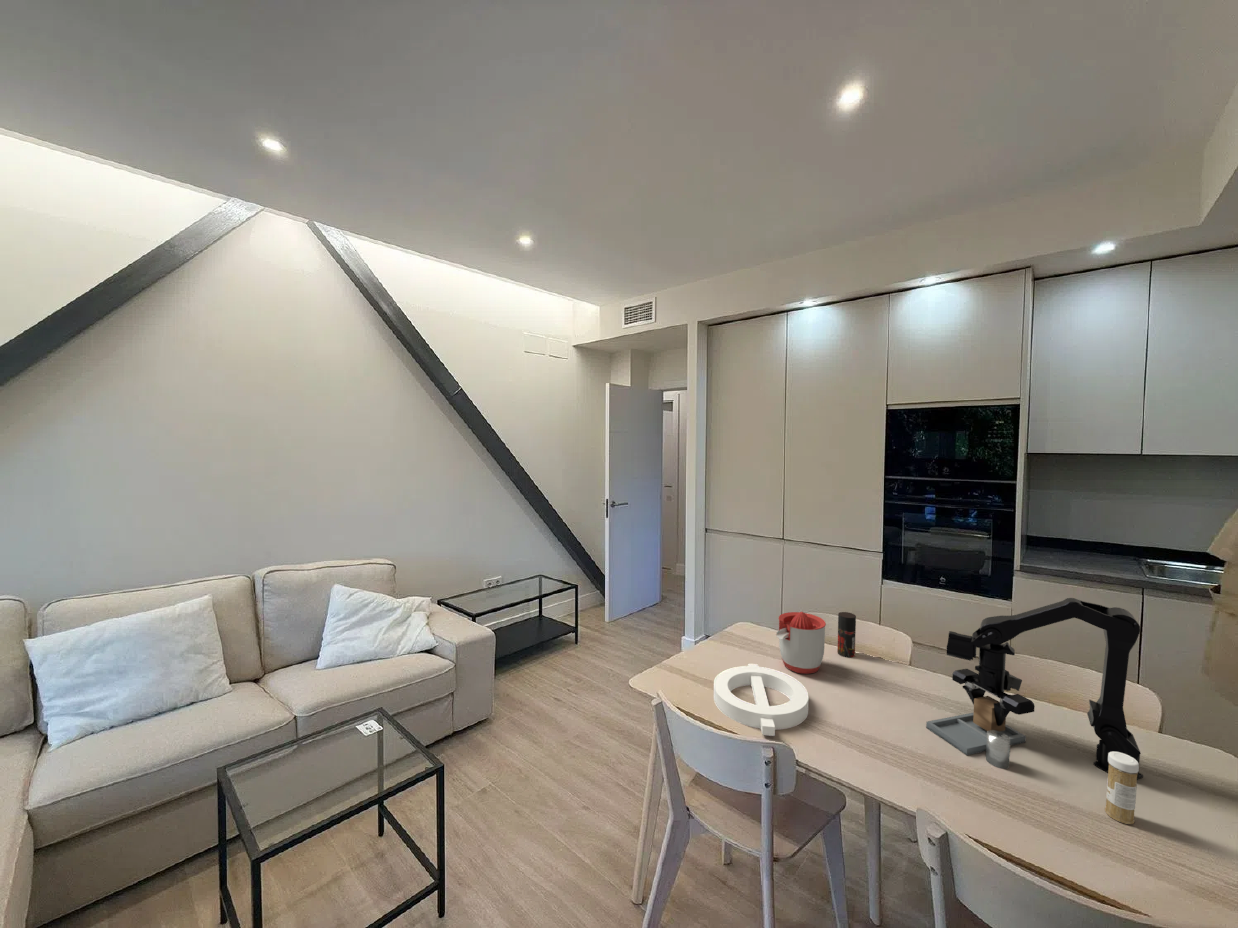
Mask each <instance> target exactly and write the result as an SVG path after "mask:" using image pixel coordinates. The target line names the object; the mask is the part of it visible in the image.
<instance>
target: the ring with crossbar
mask: <svg viewBox="0 0 1238 928" xmlns="http://www.w3.org/2000/svg"><path fill="white" fill-rule="evenodd" d="M744 686H751V690H752V694H753V699H754V703H755V704H754V703H751V702H748V701H745V700H743V699H741V698H739V697H737V696H736V695H734V693H732V691H733V690H735V689H736V688H741V687H744ZM765 688H769V689H772V690H775V691H777V692H779V693H781V694H782V695H784V696H785V697H787V698H788V699H789V701H786V702H785V703H782V704H778V705H777V704H776V705H770V704H769V700H768V697H767V693H766V689H765ZM713 702H714V704H715V706H716V707H717V709H718V710H719V711H720V712H721V713H722V714H723V715H724V716H726V717H727V718H729V719H730V720H732V721H734V722H736V723H740V724H741V725H743V726H747V727H750V728H754V729H759V730H760V731H761V736H768V737H769V736H770V737H775V736H776V730H786V729H790V728H794V727H796V726H798V725H800V724H802V723H803V722H804V721H805V720H806V719H807V717H808V715H809V693H808V690H807V687H805V686H804V684H803V683H802V682H801V681H799V680H798V679H796V678H795V677H794V676H791V675H789V674H787V673H785V672H782V671H781V670H780V671H779V670H777V669H773V668H769V667H765V666H764V667H763V666H759V664H758V663H747V665H741V666H734V667H730V668H727V669H725V670H723V671H721V672H720V673H718V674H717V675H716V676H715V678H714V681H713Z"/></svg>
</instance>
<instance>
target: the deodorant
mask: <svg viewBox="0 0 1238 928" xmlns="http://www.w3.org/2000/svg"><path fill="white" fill-rule="evenodd" d="M837 615H838V616H837V655H839V656H841V657H843V658H847V659H848V658H849V659H850V658H851V659H852V658H855V657H856V633H857V632H856V629H857V615H856V614H855V613H852V612H848V611H840V612H838V614H837Z"/></svg>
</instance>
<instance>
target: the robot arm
mask: <svg viewBox="0 0 1238 928" xmlns="http://www.w3.org/2000/svg"><path fill="white" fill-rule="evenodd" d="M1070 619H1078V620H1081V621H1083V622H1085V623H1088V624H1090V625H1092V626H1094V627H1097V628H1099V629H1102V630H1103V636H1104V640H1105V648H1104V659H1103V669H1102V676H1101V677H1102V678H1101V684H1100V685H1101V686H1100V694H1099V695H1100V696H1099V697H1098V699H1097V701H1094V700H1091V699H1089V700H1088V703H1089V710H1088V712H1087V713H1086V715H1087V717H1088V722H1089V725H1090V726H1091V727H1092V728H1093V731H1094V733H1095V735H1096V736H1097V737H1098V738H1099V741H1098V744H1097V743H1096V751H1095V752H1096V753H1095V760H1096V761H1093V765H1094V767H1097V768H1099V769H1101V770H1102V771H1104V772H1106V773H1108V770H1109V762H1108V753H1109V752H1120V753H1124V754H1126V755H1129V756H1131V757H1133V758H1134V759H1135V760H1137V761H1138V763H1139V764H1140V762H1141V761H1140V760H1141V755H1142V754H1141V750H1140V748H1139V746H1138V744H1137V741H1136V739H1135V736H1134V734H1133V733H1132V732H1131V731H1130V730H1129V729H1128V728H1127V727H1128V726H1127V722H1126V717H1125V716H1126V715H1125V711H1124V703H1125V702H1124V701H1125V694H1126V685H1127V684H1126V683H1127V676H1128V669H1129V668H1128V667H1129V666H1128V665H1129V658H1130V653H1131V650H1132V649H1133V648H1134V646H1135V645H1136V644H1137V643H1136V642H1137V640H1138V637H1139V636H1140V633H1141V626H1140V623H1138V621H1137V619H1136V618H1135V617H1134V615H1133V614H1132V612H1130V611H1128V610H1126V609H1125V608H1121V607H1117V606H1116V607H1113V606H1112V607H1108V606H1106V605H1102V604H1097V603H1093V602H1089V601H1088V602H1087V601H1084V600H1080V599H1077V598H1074V597H1067V598H1065V599H1063V600H1061V601H1057V602H1054V603H1052V604H1051V603H1050V604H1047V605H1044V606H1041V607H1037V608H1034V609H1031V610H1027V611H1023V612H1020V613H1017V614H1012V615H997V616H996V615H994V616H990V617H985V618H983V619H982V620H981V622H980V627H978V629H976V630H975V631H974V632H973V633H972V635H969V634H968V635H967V634H964V633H963V634H962V633H958V632H956V631H952V630H951V631H948V636H947V638H948V640H947V645H946V656H949V657H952V658H958V659H961V660H966V661H971V662H972V661H973V660H974V659H977V648H978V649H979V653H978V654H979V655H978V665H975V666H974V670H975V671H978V673H977V672H975V671H974V670H971V669H969V668H962V669H957V670H954V671H953V672H952V675H951V676H952V679H951V680H952V681H953V682H956V683H958V684H959V685H962V686H961V687H962V689H964V690H965V692H966V694H967V696H968V697H969V699H970V701H971V703H972V705H973V706H974V698H979V697H984V696H985V693H989V694H991V695H993V696H995V697H997V698H998V699H999V703H994V710H995V718H996V723H997V725H998V726H1001V725H1002V723H1003V722H1004V720H1005V718H1006V719H1007V716H1008V714H1009V713H1013V714H1015V715H1019V716H1020V715H1025V714H1030V713H1034V712H1035V703H1034V702H1033V701H1032V700H1031V699H1029V698H1027V697H1025V696H1024V695H1021V694H1019V693H1015V694H1008V693H1006V692H1005V691H1007V692H1009V691H1012V690H1011V689H1014V690H1015V691H1017V692H1019V691H1020V689H1021V686H1022V682H1023V680H1022V679H1021V678H1019V677H1017V676H1015V675H1012V674H1010V672H1009V670H1006V661H1007V660H1006V658H1007V655H1010V656H1015V654H1016V652H1015V651H1016V650H1015V648H1013V646H1011V645H1010V644H1009V641H1011V640H1013V639H1014V638H1016V637H1017V636H1019V635H1021V634H1022V633H1025V632H1027V631H1031V630H1035V629H1039V628H1042V627H1046V626H1050V625H1052V624H1057V623H1060V622H1064V621H1068V620H1070ZM1142 778H1144V775H1143V774H1142V773H1141V772H1140V770H1139V771H1138V774H1137V780H1138V779H1142Z"/></svg>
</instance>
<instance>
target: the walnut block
mask: <svg viewBox="0 0 1238 928" xmlns="http://www.w3.org/2000/svg"><path fill="white" fill-rule="evenodd" d="M999 702H1000V700H999V701H998V700H997V699H995V698H993V697H992V696H989V695H986V696H985V695H984V697H979V698H974V705H973V713H974V716H973V723H975V724H977V725H978V726H980V727H982V728H983V729H985V730H987V731H989V730H996V731H1004V730H1005V724H1006V721H1007V720H1006V719H1007V717H1006V718H1005V720H1004V722H1003V723H1002V725H1001V726H998V725H997V723H996V718H995V710H994V703H999ZM1006 725H1007V724H1006Z"/></svg>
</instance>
